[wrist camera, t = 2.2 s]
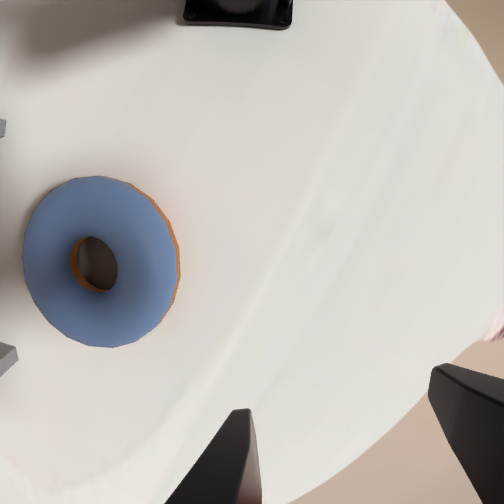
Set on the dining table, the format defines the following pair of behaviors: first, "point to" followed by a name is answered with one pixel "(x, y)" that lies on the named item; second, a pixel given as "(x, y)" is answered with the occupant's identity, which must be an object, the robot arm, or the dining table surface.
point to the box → (3, 355)
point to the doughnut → (125, 252)
